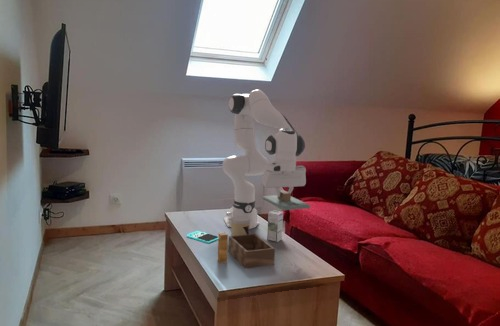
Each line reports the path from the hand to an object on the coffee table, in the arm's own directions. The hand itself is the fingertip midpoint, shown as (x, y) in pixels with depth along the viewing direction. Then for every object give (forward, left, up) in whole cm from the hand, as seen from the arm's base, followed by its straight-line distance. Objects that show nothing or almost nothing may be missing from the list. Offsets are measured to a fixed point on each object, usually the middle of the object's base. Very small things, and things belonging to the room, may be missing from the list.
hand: (283, 196), depth 182 cm
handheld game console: (-32, -27, -28) cm, 50 cm away
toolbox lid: (+2, 0, -3) cm, 3 cm away
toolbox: (+2, -16, -27) cm, 31 cm away
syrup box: (-18, +6, -27) cm, 33 cm away
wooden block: (+2, -29, -27) cm, 40 cm away
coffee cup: (-20, -12, -27) cm, 36 cm away
